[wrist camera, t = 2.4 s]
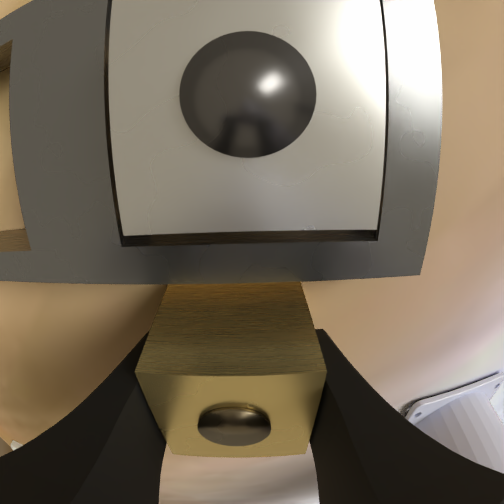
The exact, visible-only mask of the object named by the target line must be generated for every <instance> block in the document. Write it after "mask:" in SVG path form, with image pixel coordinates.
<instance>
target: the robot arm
mask: <svg viewBox="0 0 504 504" xmlns="http://www.w3.org/2000/svg"><path fill="white" fill-rule="evenodd" d="M315 331H316V335H317V338H318V341H319V345H320V348H321V352H322V355H323V359H324V362H325V366H326V369H327V374H326V378H325V382H324V387H323V391H322V395H321V399H320V403H319V407H318V411H317V414H316V418H315V422H314V425H313V429H312V433H311V436H310V444H311V449H312V453H313V457H314V461H315V467H316V472H317V481H318V490H319V501H320V504H504V425H503V423H502V421H501V419H500V418H499V416H498V414H497V412H496V411H495V409H494V407H493V406H492V404H491V402H490V399H491V398H492V397H493V395H494V394H495V392H496V391H497V389H498V388H499V387H500V385H501V384H502V382H503V381H504V372H500V373H498V374H496V375H493V376H491V377H488V378H486V379H483V380H481V381H478V382H475V383H473V384H470V385H467V386H464V387H462V388H459V389H456V390H453V391H450V392H447V393H443V394H440V395H437V396H434V397H430V398H427V399H423V400H420V401H418V402H416V403H415V404H413V406H412V407H411V409H410V410H409V412H408V414H407V415H406V417H403V416H402V415H401V414H400V413H399V412H397V411H396V410H395V409H394V408H393V407H392V406H391V405H390V404H389V403H387V402H386V401H385V400H384V399H383V398H382V397H381V396H380V395H379V394H378V393H377V392H376V391H375V390H374V389H373V388H372V387H371V386H370V384H369V383H368V382H367V381H366V380H365V379H364V378H363V377H362V376H361V375H360V373H359V372H358V371H357V370H356V369H355V368H354V367H353V366H352V364H351V363H350V362H349V361H348V360H347V358H346V357H345V356H344V355H343V353H342V352H341V351H340V350H339V348H338V347H337V346H336V345H335V343H334V342H333V341H332V339H331V338H330V337H329V336H328V334H327V333H326V332H325V331H324V330H323V329H315ZM148 335H149V332H148V333H147V334H146V335H145V336H144V337H143V338H142V339H141V340H140V341H139V343H138V344H137V345H136V346H135V347H134V348H133V349H132V351H131V352H130V353H129V354H128V355H127V356H126V357H125V358H124V360H123V361H122V362H121V363H120V364H119V365H118V366H117V367H116V368H115V369H114V371H113V372H112V373H111V374H110V375H109V376H108V377H107V378H106V379H105V380H104V381H103V382H102V383H101V384H100V385H99V386H98V387H97V388H96V389H95V390H94V391H93V392H92V393H91V394H90V395H89V396H88V397H87V398H86V399H85V400H84V401H83V402H82V403H81V404H80V405H79V406H77V407H76V408H75V409H74V410H73V411H72V412H70V413H69V414H68V415H67V416H66V417H64V418H63V419H62V420H61V421H59V422H58V423H57V424H55V425H54V426H52V427H51V428H49V429H48V430H46V431H45V432H43V433H42V434H41V435H39V436H38V437H36V438H35V439H33V440H31V441H30V442H28V443H26V444H25V445H23V446H21V447H19V448H17V449H15V450H14V451H12V452H10V453H8V454H6V455H4V456H1V457H0V504H158V502H159V486H160V474H161V467H162V461H163V457H164V452H165V448H166V443H167V442H166V440H165V438H164V436H163V434H162V432H161V430H160V428H159V426H158V424H157V422H156V420H155V418H154V415H153V413H152V411H151V409H150V407H149V405H148V402H147V400H146V398H145V396H144V393H143V391H142V389H141V386H140V384H139V381H138V379H137V377H136V374H135V370H136V367H137V364H138V361H139V359H140V356H141V353H142V350H143V348H144V345H145V342H146V340H147V337H148Z"/></svg>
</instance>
